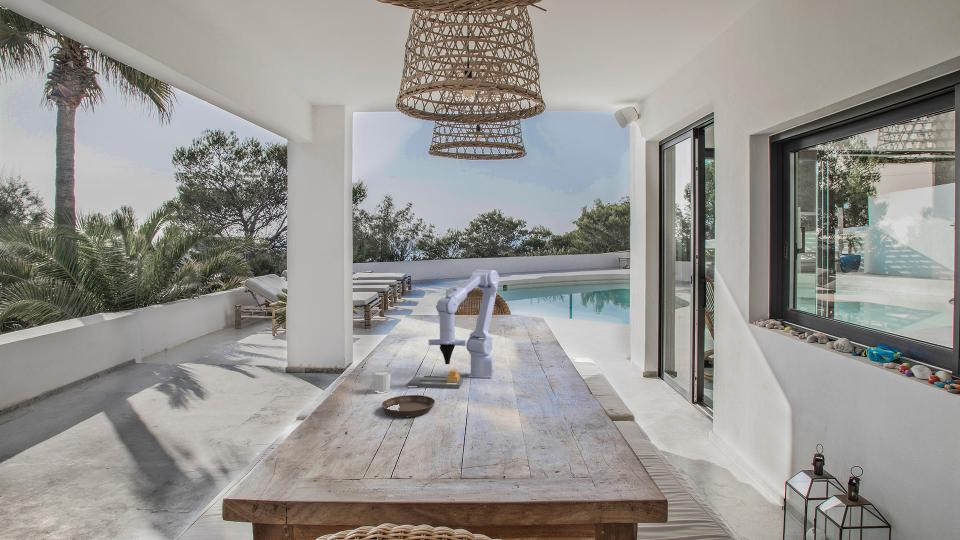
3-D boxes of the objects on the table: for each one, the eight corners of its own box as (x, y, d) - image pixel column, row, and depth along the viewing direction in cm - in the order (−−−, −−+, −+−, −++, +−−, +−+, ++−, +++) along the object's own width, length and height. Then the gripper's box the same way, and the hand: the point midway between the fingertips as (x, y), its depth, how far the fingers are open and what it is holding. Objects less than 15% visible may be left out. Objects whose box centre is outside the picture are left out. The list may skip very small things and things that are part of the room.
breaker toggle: (459, 379, 231) (459, 369, 231) (457, 382, 226) (457, 371, 226) (449, 378, 232) (449, 368, 231) (447, 381, 227) (447, 371, 226)
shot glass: (393, 389, 224) (393, 370, 223) (388, 394, 217) (388, 375, 216) (375, 388, 224) (375, 370, 224) (370, 393, 217) (370, 374, 217)
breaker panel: (463, 382, 234) (463, 378, 233) (458, 388, 224) (458, 384, 224) (414, 380, 236) (414, 376, 236) (407, 387, 226) (407, 382, 226)
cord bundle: (452, 378, 239) (452, 376, 239) (451, 380, 236) (451, 377, 236) (423, 378, 240) (423, 375, 240) (422, 379, 238) (422, 377, 238)
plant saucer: (385, 421, 186) (385, 412, 186) (379, 405, 203) (378, 397, 202) (440, 416, 191) (439, 407, 190) (429, 401, 207) (429, 393, 207)
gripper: (426, 330, 225) (427, 365, 226) (463, 331, 223) (464, 366, 224) (430, 327, 232) (431, 361, 233) (466, 328, 230) (467, 362, 231)
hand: (447, 363), depth 229 cm, fingers closed
